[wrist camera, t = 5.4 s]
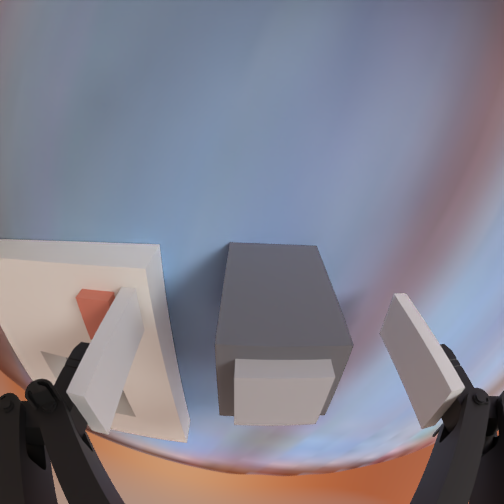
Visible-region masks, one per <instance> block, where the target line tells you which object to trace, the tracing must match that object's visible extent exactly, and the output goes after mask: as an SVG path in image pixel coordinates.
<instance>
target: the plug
mask: <svg viewBox="0 0 504 504" xmlns="http://www.w3.org/2000/svg"><path fill="white" fill-rule="evenodd" d="M352 348H353V342H352V339H351V336H350V334H349V331H348V328H347V325H346V322H345V319H344V317H343V314H342V311H341V308H340V306H339V303H338V300H337V298H336V295H335V292H334V290H333V287H332V284H331V282H330V279H329V277H328V274H327V271H326V269H325V266H324V264H323V261H322V259H321V256H320V254H319V251H318V249H317V246H307V245H284V244H260V243H235V242H230V244H229V251H228V257H227V263H226V270H225V277H224V283H223V290H222V297H221V303H220V310H219V317H218V324H217V331H216V339H215V358H216V373H217V388H218V401H219V414H220V415H223V416H234V425H258V426H278V425H307V424H316V422H317V420H318V417H319V415H325V413H326V411H327V409H328V407H329V404H330V402H331V400H332V398H333V395H334V393H335V391H336V388H337V386H338V384H339V381H340V379H341V376H342V374H343V371H344V369H345V366H346V364H347V361H348V359H349V356H350V353H351V351H352Z"/></svg>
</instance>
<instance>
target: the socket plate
mask: <svg viewBox="0 0 504 504" xmlns="http://www.w3.org/2000/svg"><path fill="white" fill-rule="evenodd" d="M121 287H130V288H136V292H137V297H138V302H139V307H140V312H141V316H142V321H143V325H144V329H145V330H144V333H143V336H142V338H141V341H140V343H139V346H138V349H137V352H136V354H135V357H134V360H133V363H132V365H131V368H130V371H129V374H128V377H127V379H126V382H125V385H124V388H123V391H122V394H121V397H120V400H119V403H118V406H117V409H116V412H115V416H114V419H113V422H112V425H111V428H110V429H112V430H117V431H121V432H126V433H130V434H135V435H140V436H145V437H151V438H157V439H163V440H170V441H177V442H185V443H187V439H188V432H189V425H190V417H189V413H188V409H187V405H186V400H185V396H184V392H183V387H182V382H181V378H180V373H179V368H178V363H177V358H176V353H175V347H174V342H173V336H172V330H171V324H170V318H169V312H168V306H167V299H166V292H165V285H164V277H163V269H162V261H161V252H160V244H134V243H106V242H77V241H47V240H15V239H0V325H1V327H2V329H3V331H4V333H5V335H6V337H7V339H8V341H9V342H10V344H11V346H12V348H13V350H14V351H15V353H16V355H17V357H18V358H19V360H20V362H21V363H22V365H23V367H24V368H25V370H26V371H27V373H28V374H29V376H30V378H31V379H32V381H35V380H36V379H47V380H49V381H50V382H52V384H53V386H54V384H55V382H56V380H57V378H58V376H59V374H60V372H61V371H62V369H63V367H64V366H65V363H66V361H67V359H68V357H69V356H70V354H71V352H72V350H73V349H74V348H75V347H76V346H77V345H78V344H79V343H80V342H86V343H91V341H92V339H93V337H94V335H95V333H96V331H97V329H98V328H99V326H100V324H101V322H102V320H103V319H104V317H105V315H106V313H107V311H108V310H109V308H110V306H111V304H112V303H113V301H114V299H115V298H116V296H117V294H118V292H119V291H120V289H121Z"/></svg>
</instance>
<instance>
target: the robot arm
mask: <svg viewBox="0 0 504 504" xmlns="http://www.w3.org/2000/svg"><path fill="white" fill-rule="evenodd" d="M144 330H145V329H144V325H143V321H142V316H141V312H140V307H139V302H138V297H137V292H136V288H130V287H121V289H120V291H119V292H118V294H117V296H116V298H115V299H114V301H113V303H112V304H111V306H110V308H109V310H108V311H107V313H106V315H105V317H104V319H103V320H102V322H101V324H100V326H99V328H98V329H97V331H96V333H95V335H94V337H93V339H92V341H91V343H86V342H80V343H79V344H78V345H77V346H76V347H75V348H74V349H73V350H72V352H71V354H70V356H69V357H68V359H67V361H66V363H65V366H64V367H63V369H62V371H61V372H60V374H59V376H58V378H57V380H56V382H55V384H54V386H53V384H52V382H50V381H49V380H47V379H36V380H35V381H33V382H31V383H30V384H29V385H28V386H27V389H26V391H25V398H26V399H27V400H28V401H20V400H19V398H18V397H17V396H16V395H15V394H13V393H7V394H4V395H3V396H1V397H0V504H58V503H57V498H56V493H55V487H54V482H53V476H52V468H51V463H52V466H53V468H54V471H55V473H56V476H57V478H58V481H59V483H60V485H61V488H62V490H63V492H64V494H65V497H66V499H67V500H68V503H69V504H125V503H124V502H123V500H122V498H121V497H120V495H119V494H118V492H117V490H116V489H115V487H114V485H113V484H112V482H111V480H110V478H109V477H108V475H107V473H106V471H105V469H104V467H103V466H102V464H101V462H100V460H99V458H98V456H97V454H96V452H95V450H94V448H93V445H92V443H91V442H90V439H89V437H88V435H87V433H86V432H85V430H86V427H87V424H88V425H89V427H90V428H91V429H92V431H96V432H100V433H104V434H108V435H109V432H110V428H111V425H112V422H113V419H114V416H115V412H116V409H117V406H118V403H119V400H120V397H121V394H122V391H123V388H124V385H125V382H126V379H127V377H128V374H129V371H130V368H131V365H132V363H133V360H134V357H135V354H136V352H137V349H138V346H139V343H140V341H141V338H142V336H143V333H144ZM380 335H381V337H382V339H383V342H384V344H385V346H386V348H387V350H388V352H389V354H390V356H391V359H392V361H393V363H394V365H395V367H396V369H397V372H398V374H399V376H400V378H401V381H402V383H403V385H404V387H405V390H406V392H407V394H408V397H409V399H410V401H411V404H412V406H413V409H414V411H415V414H416V416H417V418H418V421H419V423H420V426H421V429H424V428H427V427H430V426H434V425H435V424H436V423H437V422H438V421H439V420H440V419H441V418H442V420H443V424H442V425H441V426H440V427H439V428H438V429H437V430H436V432H435V433H434V434H433V437H435V436H436V434H437V433H438V436H437V439H436V442H435V445H434V448H433V450H432V453H431V456H430V459H429V461H428V464H427V467H426V469H425V471H424V474H423V476H422V478H421V481H420V483H419V485H418V488H417V490H416V492H415V494H414V496H413V498H412V501H411V502H410V504H468V502H469V504H504V391H503V392H502V393H501V395H500V396H488V394H487V393H486V392H485V391H484V390H482V389H479V388H474V387H473V385H472V383H471V382H470V380H469V378H468V377H467V375H466V373H465V371H464V370H463V368H462V366H460V363H459V362H458V360H456V357H455V355H454V354H453V352H452V350H450V349H449V348H448V347H447V346H446V345H445V344H441V345H440V344H439V342H438V341H437V339H436V338H435V336H434V335H433V333H432V331H431V330H430V328H429V327H428V325H427V324H426V322H425V321H424V319H423V318H422V316H421V315H420V313H419V312H418V310H417V309H416V307H415V306H414V305H413V303H412V302H411V300H410V299H409V297H408V296H407V294H406V293H400V294H394V295H393V298H392V301H391V303H390V306H389V309H388V312H387V315H386V317H385V320H384V323H383V325H382V328H381V331H380ZM498 430H499V436H497V431H498ZM50 460H51V461H50Z"/></svg>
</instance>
